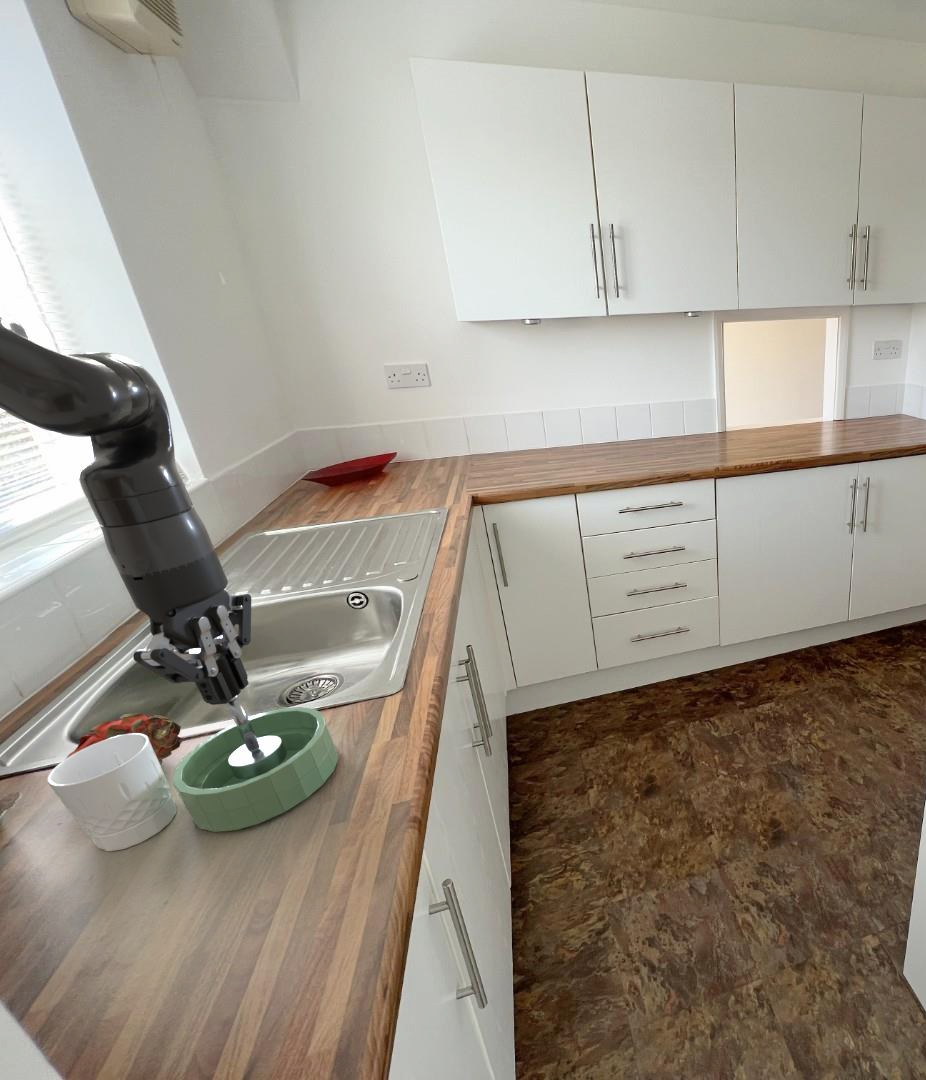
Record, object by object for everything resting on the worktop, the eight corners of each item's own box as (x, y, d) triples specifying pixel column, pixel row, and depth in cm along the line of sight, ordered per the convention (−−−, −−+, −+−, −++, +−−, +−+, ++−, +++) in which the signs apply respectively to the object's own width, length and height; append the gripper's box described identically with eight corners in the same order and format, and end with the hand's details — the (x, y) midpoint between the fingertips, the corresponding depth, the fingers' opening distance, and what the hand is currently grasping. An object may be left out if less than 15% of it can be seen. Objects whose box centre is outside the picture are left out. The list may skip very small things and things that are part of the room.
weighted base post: (223, 781, 68) (170, 673, 62) (254, 749, 72) (207, 646, 67) (268, 778, 68) (219, 669, 62) (296, 746, 73) (253, 643, 67)
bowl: (159, 840, 64) (136, 799, 62) (251, 748, 78) (235, 711, 76) (293, 830, 65) (274, 788, 63) (361, 739, 78) (348, 703, 76)
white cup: (90, 830, 66) (47, 761, 63) (179, 789, 72) (145, 723, 68) (92, 870, 61) (46, 798, 58) (188, 822, 67) (151, 754, 63)
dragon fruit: (206, 760, 78) (90, 816, 73) (189, 708, 81) (76, 757, 76) (171, 744, 72) (40, 804, 66) (154, 687, 75) (27, 740, 69)
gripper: (184, 534, 66) (240, 663, 73) (62, 589, 53) (143, 739, 60) (250, 529, 66) (300, 658, 73) (145, 583, 54) (217, 733, 60)
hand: (229, 694), depth 66 cm, fingers closed on weighted base post
